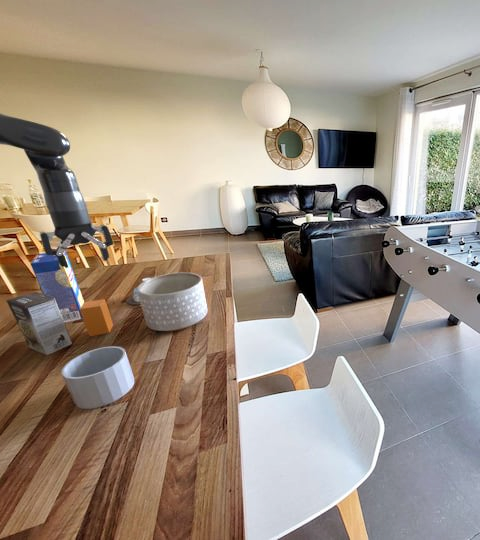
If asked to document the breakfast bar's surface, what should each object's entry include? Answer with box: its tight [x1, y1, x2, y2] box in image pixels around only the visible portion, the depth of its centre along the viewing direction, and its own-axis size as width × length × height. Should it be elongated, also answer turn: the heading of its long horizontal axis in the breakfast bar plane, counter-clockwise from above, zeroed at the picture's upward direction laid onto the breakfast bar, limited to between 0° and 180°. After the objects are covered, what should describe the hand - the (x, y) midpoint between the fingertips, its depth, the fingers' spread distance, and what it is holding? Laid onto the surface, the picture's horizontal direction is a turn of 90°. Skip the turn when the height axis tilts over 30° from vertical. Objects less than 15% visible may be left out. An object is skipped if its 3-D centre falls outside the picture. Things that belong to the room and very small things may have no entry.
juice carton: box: [80, 298, 114, 337], centre depth 92 cm, size 5×5×10 cm
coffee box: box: [5, 291, 73, 356], centre depth 83 cm, size 9×6×16 cm
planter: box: [136, 272, 209, 332], centre depth 99 cm, size 19×19×14 cm
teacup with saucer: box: [126, 277, 152, 307], centre depth 114 cm, size 12×12×8 cm
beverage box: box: [30, 250, 85, 324], centre depth 98 cm, size 7×11×22 cm, turn 38°
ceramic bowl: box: [61, 345, 136, 410], centre depth 70 cm, size 11×11×9 cm
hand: (86, 263), depth 84 cm, fingers open, 8 cm apart
